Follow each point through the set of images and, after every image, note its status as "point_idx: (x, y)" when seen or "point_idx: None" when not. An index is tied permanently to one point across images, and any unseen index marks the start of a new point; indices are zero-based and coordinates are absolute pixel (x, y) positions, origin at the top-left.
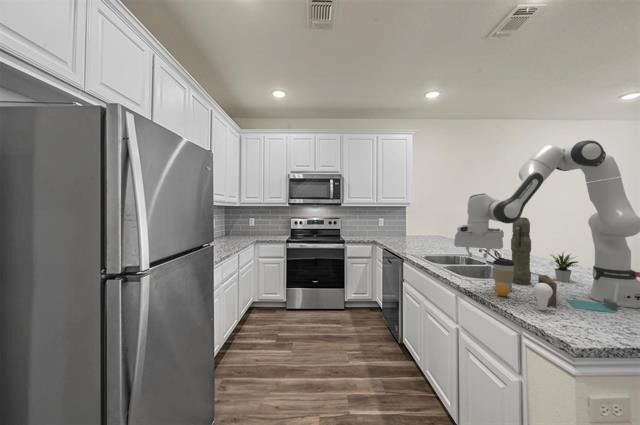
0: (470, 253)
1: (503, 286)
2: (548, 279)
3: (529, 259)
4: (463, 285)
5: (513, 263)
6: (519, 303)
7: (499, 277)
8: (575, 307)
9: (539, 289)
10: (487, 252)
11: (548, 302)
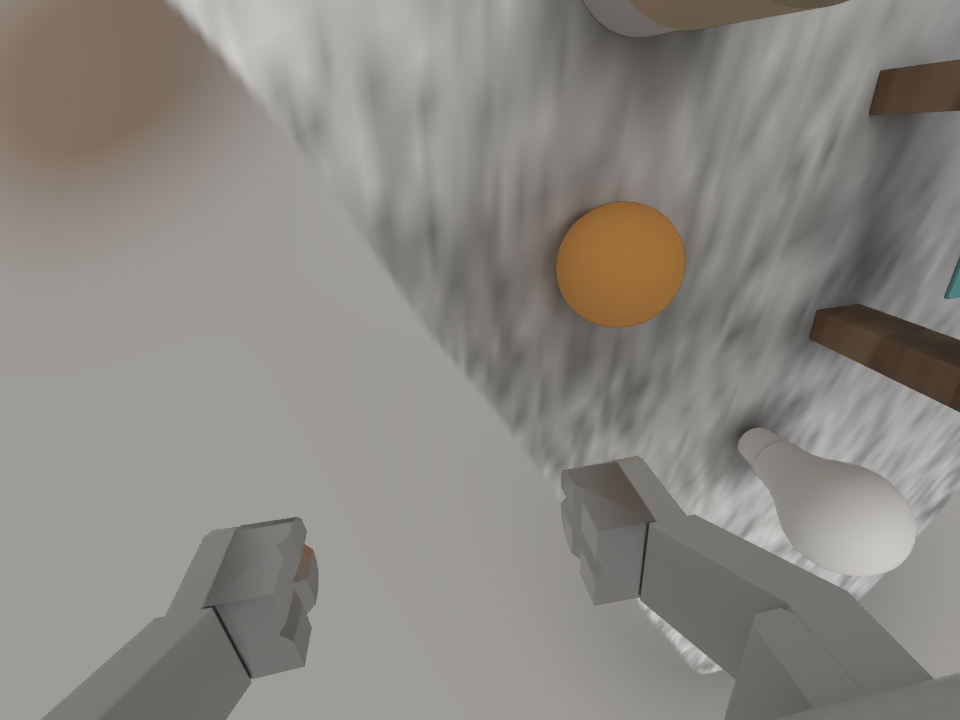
0: (266, 669)
1: (638, 321)
2: None
3: None
4: (223, 7)
5: None
6: (669, 374)
7: (675, 5)
8: (951, 292)
9: (820, 566)
10: (709, 640)
11: (835, 346)
